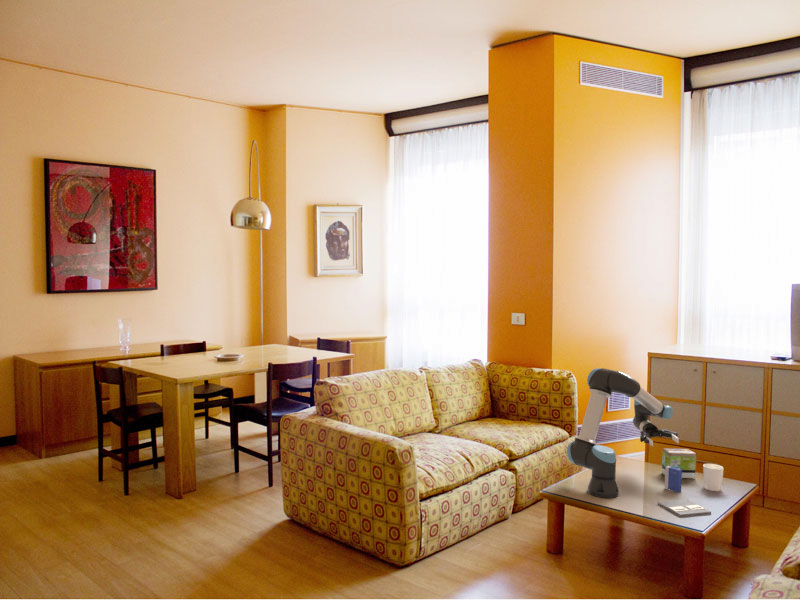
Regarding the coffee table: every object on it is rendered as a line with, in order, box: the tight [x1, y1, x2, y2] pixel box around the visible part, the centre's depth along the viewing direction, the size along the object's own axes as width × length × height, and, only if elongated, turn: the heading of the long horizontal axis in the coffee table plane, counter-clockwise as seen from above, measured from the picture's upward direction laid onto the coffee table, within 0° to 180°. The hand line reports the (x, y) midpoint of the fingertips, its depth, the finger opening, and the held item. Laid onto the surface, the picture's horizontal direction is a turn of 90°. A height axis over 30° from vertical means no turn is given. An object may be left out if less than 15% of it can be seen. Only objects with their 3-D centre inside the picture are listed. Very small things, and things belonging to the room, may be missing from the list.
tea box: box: [661, 447, 697, 480], centre depth 343 cm, size 15×10×15 cm, turn 91°
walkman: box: [664, 466, 683, 493], centre depth 320 cm, size 8×3×12 cm, turn 33°
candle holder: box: [702, 463, 724, 492], centre depth 323 cm, size 10×10×12 cm
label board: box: [657, 499, 712, 518], centre depth 293 cm, size 17×16×2 cm
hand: (665, 442), depth 322 cm, fingers open, 13 cm apart
